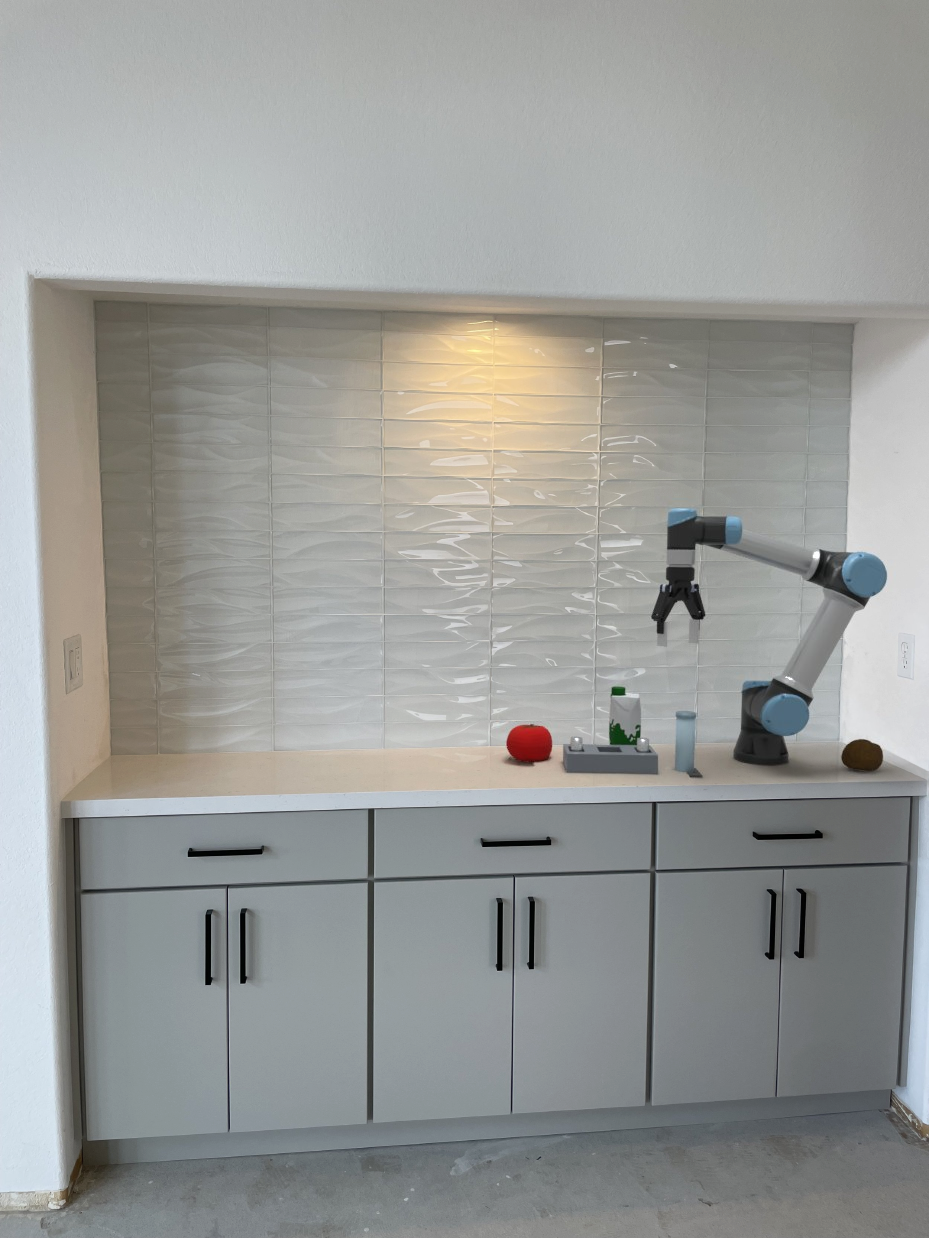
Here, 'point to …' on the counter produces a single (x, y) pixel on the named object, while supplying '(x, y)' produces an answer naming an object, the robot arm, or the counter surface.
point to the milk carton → (624, 717)
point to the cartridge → (685, 741)
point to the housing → (610, 759)
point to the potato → (862, 755)
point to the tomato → (529, 743)
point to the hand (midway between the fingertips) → (678, 644)
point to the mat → (695, 774)
